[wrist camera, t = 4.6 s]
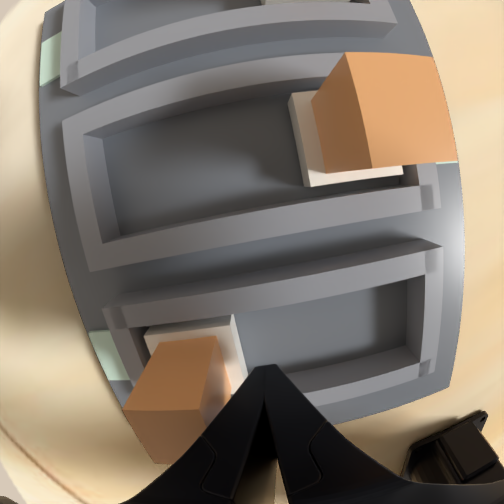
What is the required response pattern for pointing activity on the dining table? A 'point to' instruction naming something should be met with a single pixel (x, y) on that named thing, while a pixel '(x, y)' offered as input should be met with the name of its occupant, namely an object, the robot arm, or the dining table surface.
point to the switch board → (244, 197)
